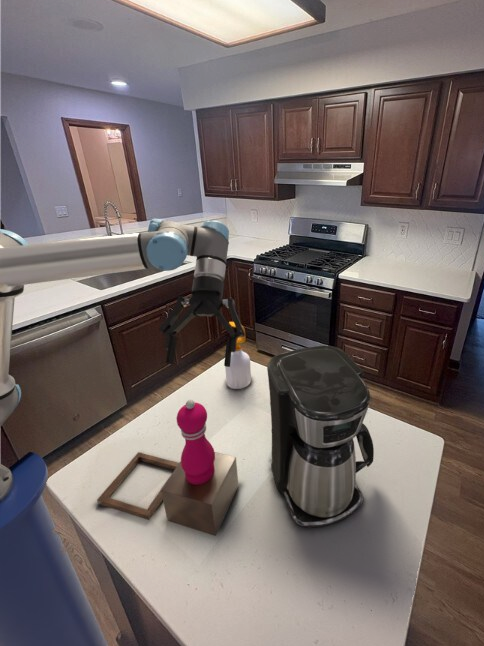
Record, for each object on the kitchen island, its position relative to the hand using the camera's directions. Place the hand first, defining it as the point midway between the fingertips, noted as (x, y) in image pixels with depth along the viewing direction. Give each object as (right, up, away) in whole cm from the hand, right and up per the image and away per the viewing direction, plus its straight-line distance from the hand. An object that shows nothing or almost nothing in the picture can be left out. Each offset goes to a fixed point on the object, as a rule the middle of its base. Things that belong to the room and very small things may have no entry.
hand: (198, 365), depth 72 cm
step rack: (-7, -32, +3) cm, 33 cm away
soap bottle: (+3, -15, +44) cm, 47 cm away
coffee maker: (+29, -29, +11) cm, 42 cm away
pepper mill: (+1, -24, -2) cm, 24 cm away
